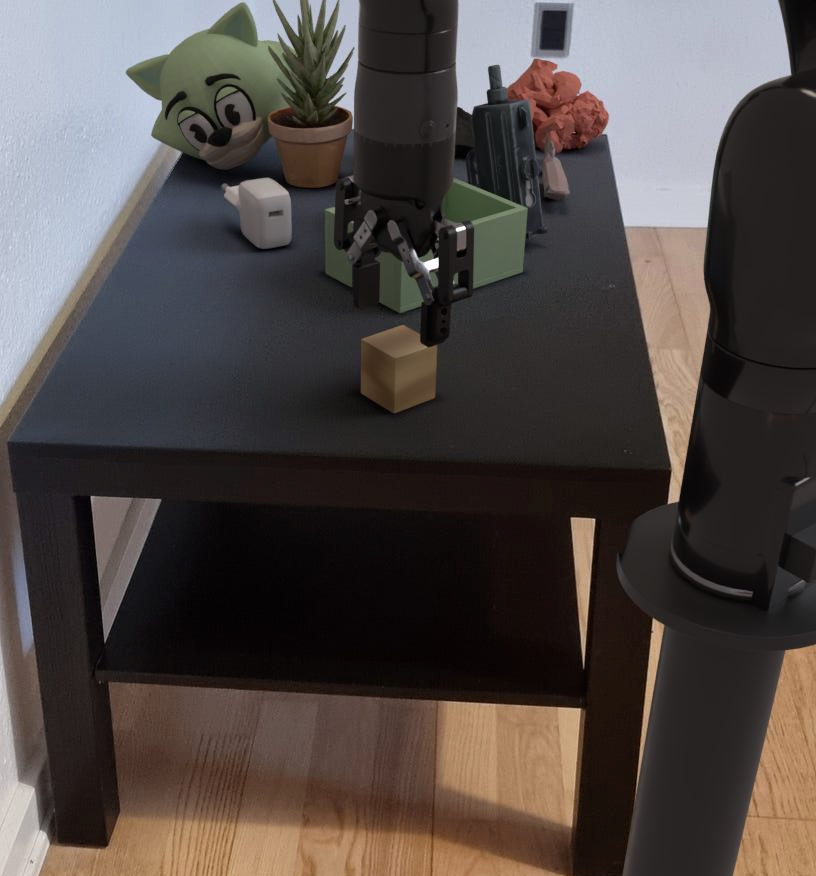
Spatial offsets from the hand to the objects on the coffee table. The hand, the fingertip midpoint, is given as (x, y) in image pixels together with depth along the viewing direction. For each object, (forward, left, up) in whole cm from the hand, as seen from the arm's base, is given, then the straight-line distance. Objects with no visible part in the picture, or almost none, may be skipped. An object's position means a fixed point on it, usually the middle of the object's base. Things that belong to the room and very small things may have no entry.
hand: (398, 324), depth 107 cm
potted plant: (+46, -24, -6) cm, 52 cm away
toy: (+56, -24, -5) cm, 61 cm away
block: (0, 0, -6) cm, 6 cm away
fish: (+26, -43, -7) cm, 51 cm away
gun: (+23, -31, -7) cm, 39 cm away
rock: (+43, -44, -7) cm, 62 cm away
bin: (+18, -18, -6) cm, 26 cm away
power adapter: (+37, -11, -7) cm, 39 cm away
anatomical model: (+39, -59, 0) cm, 71 cm away
